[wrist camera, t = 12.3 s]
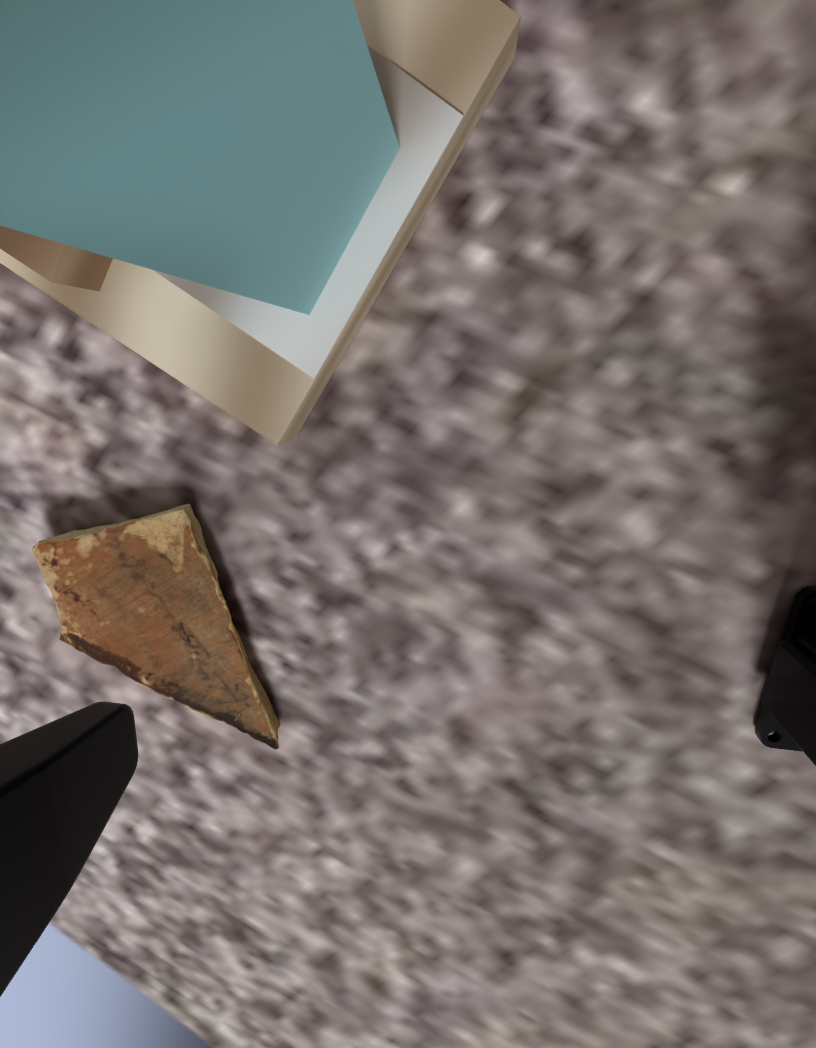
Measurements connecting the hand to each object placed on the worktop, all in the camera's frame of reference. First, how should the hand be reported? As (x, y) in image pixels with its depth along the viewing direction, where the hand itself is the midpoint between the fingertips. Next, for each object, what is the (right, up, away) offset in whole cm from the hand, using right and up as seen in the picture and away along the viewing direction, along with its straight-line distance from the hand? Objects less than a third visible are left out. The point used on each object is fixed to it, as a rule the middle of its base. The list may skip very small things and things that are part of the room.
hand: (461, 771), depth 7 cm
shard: (-10, 0, +15) cm, 18 cm away
